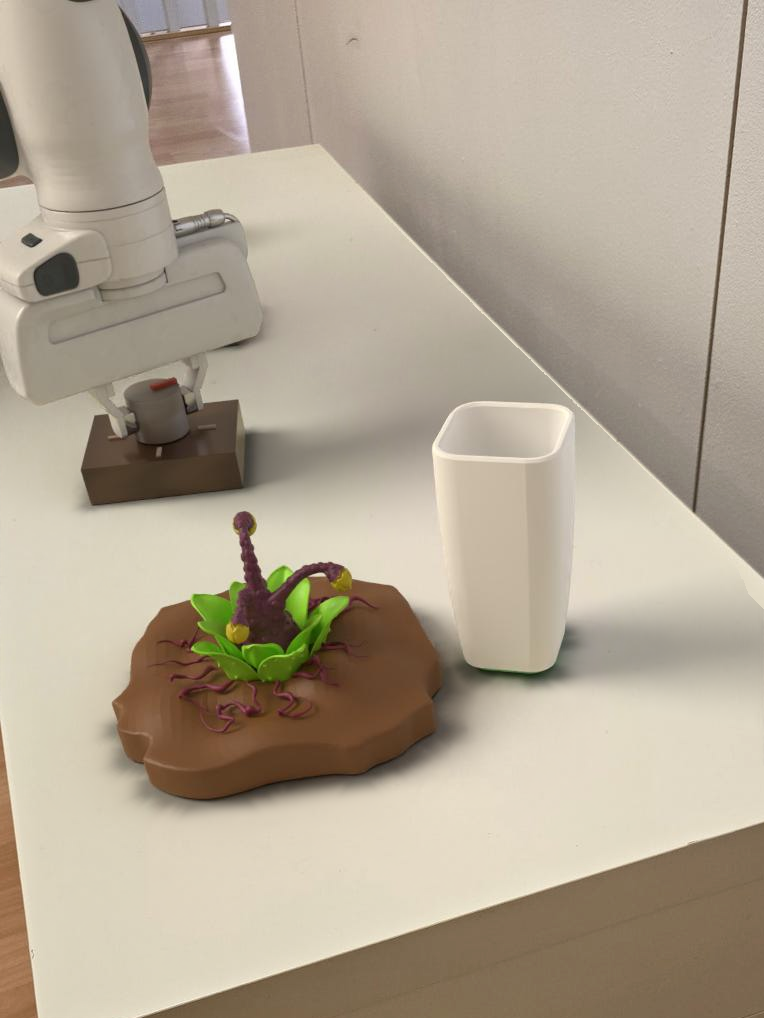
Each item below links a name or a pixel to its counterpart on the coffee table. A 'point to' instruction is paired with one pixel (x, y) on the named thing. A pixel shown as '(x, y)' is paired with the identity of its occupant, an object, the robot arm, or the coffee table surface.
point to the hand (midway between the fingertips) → (159, 422)
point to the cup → (507, 529)
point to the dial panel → (167, 458)
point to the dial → (157, 410)
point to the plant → (277, 681)
